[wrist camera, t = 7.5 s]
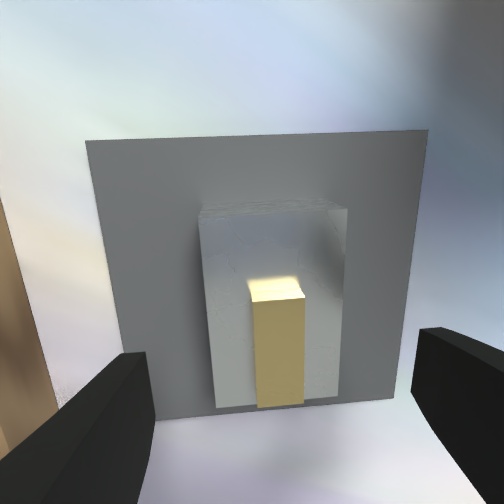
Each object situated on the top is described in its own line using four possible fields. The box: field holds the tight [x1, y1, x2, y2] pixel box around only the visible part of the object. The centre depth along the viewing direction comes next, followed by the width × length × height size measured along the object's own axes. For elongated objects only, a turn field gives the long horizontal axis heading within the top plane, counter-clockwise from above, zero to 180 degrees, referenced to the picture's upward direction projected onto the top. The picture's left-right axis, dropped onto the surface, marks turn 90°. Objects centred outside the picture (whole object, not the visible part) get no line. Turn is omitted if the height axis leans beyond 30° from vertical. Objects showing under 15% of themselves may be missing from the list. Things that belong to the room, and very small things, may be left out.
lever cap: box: [198, 198, 348, 408], centre depth 11 cm, size 7×4×3 cm, turn 2°
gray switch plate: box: [85, 130, 428, 421], centre depth 13 cm, size 12×12×1 cm
